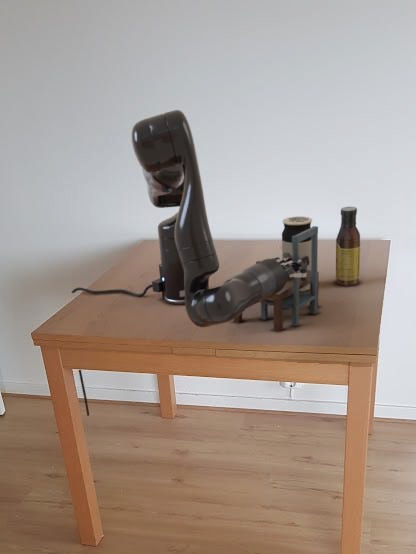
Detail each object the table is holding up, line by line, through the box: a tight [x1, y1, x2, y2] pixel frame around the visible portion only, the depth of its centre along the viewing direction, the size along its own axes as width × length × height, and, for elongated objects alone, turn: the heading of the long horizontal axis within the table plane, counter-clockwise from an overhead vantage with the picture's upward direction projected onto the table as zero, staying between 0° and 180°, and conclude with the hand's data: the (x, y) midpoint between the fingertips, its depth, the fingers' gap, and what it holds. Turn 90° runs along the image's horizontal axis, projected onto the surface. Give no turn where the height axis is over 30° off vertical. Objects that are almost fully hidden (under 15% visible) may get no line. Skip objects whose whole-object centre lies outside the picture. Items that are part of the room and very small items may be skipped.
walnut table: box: [233, 270, 320, 332], centre depth 165 cm, size 13×18×9 cm
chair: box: [259, 225, 319, 327], centre depth 160 cm, size 10×10×21 cm
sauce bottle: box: [335, 206, 361, 287], centre depth 178 cm, size 7×6×20 cm
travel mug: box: [281, 215, 313, 292], centre depth 178 cm, size 8×8×18 cm
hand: (302, 259), depth 154 cm, fingers closed
